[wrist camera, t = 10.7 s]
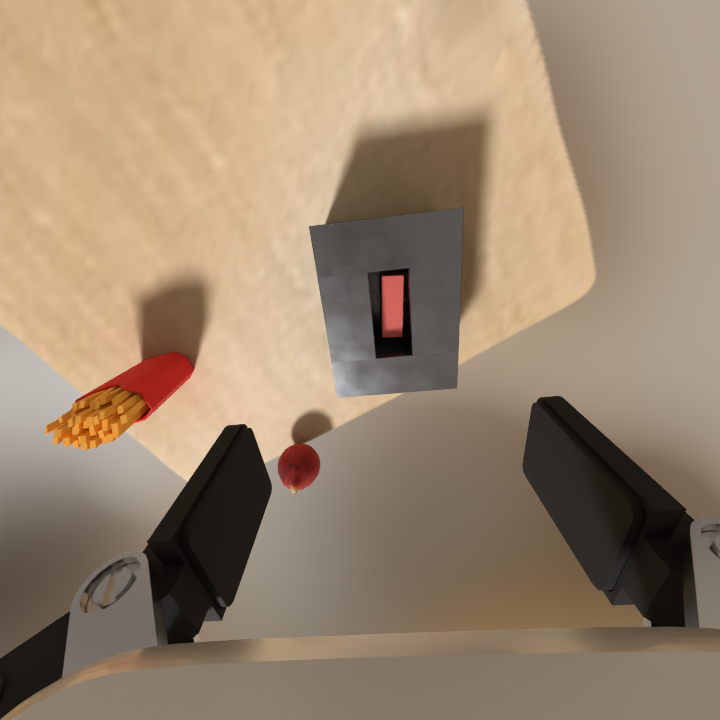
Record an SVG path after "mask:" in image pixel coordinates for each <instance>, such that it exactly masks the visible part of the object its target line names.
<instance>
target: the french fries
mask: <svg viewBox="0 0 720 720" xmlns="http://www.w3.org/2000/svg"><path fill="white" fill-rule="evenodd" d="M193 371H194V368H193V367H192V365H191V363H190V361H189V360H188V358H187V356H185V355H182V354H179V353H176V352H172V353H167V354H163V355H159V356H156V357H152V358H149V359H146V360H144V361H142V362H141V363H139V364H137V365H136V366H134V367H132V368H130V369H129V370H127V371H125V372H123V373H122V374H120V375H118V376H117V377H115V378H113V379H111V380H110V381H108V382H106V383H104V384H103V385H101V386H99V387H98V388H96V389H94V390H92V391H91V392H89V393H87V394H86V395H84V396H82V397H80V398H79V399H77V400H76V401H75V403H74V404H72V405H73V406H72V409H71V410H70V411H68V412H67V413H65V414H64V415H62V416H61V417H60V418H59V419H58V420H56V421H55V422H53V423H51V424H49V425H47V426H46V428H45V432H46V435H47V434H49V433H50V432H52V431H54V440H53V441H54V442H53V443H54V444H58V443H60V442H62V441H64V446H69V445H71V444H72V443H74V448H78V447H80V446H81V445H82V450H88V449H89V448H97V447H98V446H99V445H100V444H101V443H102V444H103V443H108V442H112V441H114V440H115V439H116V438H117V437H119V436H120V435H121V434H123V432H125V431H126V430H127V429H128V428H129V427H130V426H131V425H132V424H133V423H136V422H139V421H143V420H146V419H147V418H148V417H149V416H150V415H151V414H152V413H153V412H154V411H155V410H156V409H157V408H158V407H159V406H160V405H161V404H163V403H164V402H165V401H166V400H167V399H168V398H169V397H170V396H171V395H172V394H173V393H174V392H175V391H176V390H177V389H178V388H179V387H180V386H182V385H183V384H184V383H185V382H186V381H187V380H188V379H189V378H190V376H191V375H192V373H193ZM67 422H68V423H67Z"/></svg>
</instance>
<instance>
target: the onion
mask: <svg viewBox="0 0 720 720" xmlns="http://www.w3.org/2000/svg"><path fill="white" fill-rule="evenodd" d="M319 469H320V460H319V456H318V454H317V453H316V451H315V450H314V449H313V448H312V447H310V446H309V445H306V444H295V445H292V446H290V447H288V448H287V449H285V451H284V452H283V453H282V455H281V457H280V458H279V462H278V474H279V476H280V478H281V480H282V482H283V484H284V485H285V486H286V487H288V488H289V489H291V492H292V493H294V494H295V493H296V492H297V490H300V489H304V488H305V487H307V486H309V485H310V484H312V482H313V481H314V480H315V479H316V477H317V476H318V473H319Z"/></svg>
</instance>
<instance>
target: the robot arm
mask: <svg viewBox="0 0 720 720" xmlns="http://www.w3.org/2000/svg"><path fill="white" fill-rule="evenodd" d="M523 471H524V474H525V476H526V478H527V479H528V481H529V482H530V484H531V486H532V487H533V489H534V491H535V492H536V494H537V495H538V497H539V499H540V500H541V502H542V503H543V505H544V507H545V508H546V510H547V511H548V513H549V515H550V516H551V518H552V519H553V521H554V523H555V524H556V526H557V527H558V529H559V531H560V532H561V534H562V536H563V537H564V539H565V540H566V542H567V544H568V545H569V546H570V548H571V550H572V551H573V553H574V555H575V556H576V558H577V560H578V561H579V563H580V564H581V566H582V568H583V569H584V571H585V572H586V574H587V576H588V577H589V579H590V580H591V582H592V583H593V585H594V586H595V587H596V588H597V589H598V590H602V591H603V592H604V593H605V595H606V596H607V598H608V599H609V601H610V603H611V604H612V605H631V604H635V606H636V607H637V608H638V610H639V611H640V613H641V614H642V616H643V617H644V627H596V628H595V627H594V628H593V627H592V628H561V629H559V628H558V629H525V630H524V629H523V630H492V631H491V630H489V631H459V632H458V631H457V632H430V633H429V632H428V633H400V634H372V635H345V636H344V635H343V636H321V637H320V636H319V637H297V638H296V637H294V638H269V639H246V640H228V641H212V642H200V640H199V635H198V633H199V631H200V629H201V626H202V624H203V621H222V618H223V616H224V613H225V610H226V607H229V606H230V605H231V604H232V603H233V601H234V598H235V595H236V593H237V590H238V587H239V584H240V581H241V578H242V575H243V573H244V570H245V567H246V564H247V561H248V558H249V555H250V552H251V550H252V547H253V544H254V541H255V538H256V535H257V532H258V530H259V527H260V524H261V521H262V518H263V515H264V512H265V509H266V506H267V504H268V501H269V498H270V495H271V490H272V485H271V481H270V478H269V475H268V472H267V470H266V467H265V464H264V461H263V458H262V456H261V453H260V450H259V447H258V444H257V442H256V439H255V436H254V433H253V431H252V429H251V428H247V426H246V425H245V424H239V425H228V426H226V427H225V428H224V430H223V431H222V433H221V434H220V436H219V437H218V439H217V440H216V442H215V443H214V445H213V446H212V447H211V449H210V450H209V452H208V453H207V455H206V456H205V458H204V459H203V461H202V462H201V464H200V465H199V467H198V468H197V469H196V471H195V472H194V474H193V475H192V477H191V478H190V480H189V481H188V483H187V484H186V486H185V487H184V489H183V490H182V491H181V493H180V494H179V496H178V497H177V499H176V500H175V502H174V503H173V505H172V506H171V508H170V509H169V511H168V512H167V514H166V515H165V516H164V518H163V519H162V521H161V522H160V524H159V525H158V527H157V528H156V530H155V531H154V533H153V534H152V536H151V537H150V538H149V540H148V541H147V543H148V545H147V547H146V548H145V550H144V551H143V553H142V552H140V551H130V552H126V553H123V554H121V555H118V556H116V557H114V558H112V559H111V560H109V561H108V562H106V563H105V564H103V565H102V566H101V567H99V568H98V569H97V570H96V571H95V572H94V573H93V574H92V575H90V576H89V578H88V579H87V580H86V581H85V582H84V584H83V585H82V586H81V587H80V589H79V590H78V592H77V594H76V595H75V597H74V599H73V603H72V606H71V609H70V612H68V613H67V614H65V615H64V616H62V617H61V618H59V619H58V620H56V621H55V622H53V623H52V624H50V625H49V626H47V627H46V628H44V629H43V630H42V631H40V632H39V633H37V634H36V635H34V636H33V637H31V638H30V639H29V640H27V641H26V642H24V643H23V644H21V645H20V646H18V647H17V648H15V649H14V650H12V651H11V652H9V653H8V654H6V655H5V656H3V657H2V658H0V720H720V518H712V517H705V518H698V519H696V520H694V519H692V518H691V517H690V516H689V515H688V514H687V513H686V512H685V511H686V508H684V507H683V506H682V505H681V504H680V503H679V502H678V501H677V500H675V498H673V497H672V496H671V495H670V494H669V493H668V492H667V491H666V490H664V489H663V488H662V487H661V486H660V485H659V484H658V483H657V482H656V481H655V480H653V479H652V478H651V477H650V476H649V475H648V474H647V473H646V472H644V470H642V469H641V468H640V467H639V466H638V465H637V464H636V463H635V462H633V461H632V460H631V459H630V458H629V457H628V456H627V455H626V454H625V453H624V452H622V451H621V450H620V449H619V448H618V447H617V446H615V444H614V443H612V442H611V441H610V440H609V439H608V438H607V437H606V436H605V435H604V434H603V433H601V432H600V431H599V430H598V429H597V428H596V427H595V426H594V425H593V424H591V423H590V422H589V421H588V420H587V419H586V418H585V417H584V416H583V415H581V414H580V413H579V412H578V411H577V410H576V409H575V408H574V407H573V406H571V405H570V404H569V403H568V402H567V401H566V400H565V399H564V398H562V397H560V396H552V397H543V398H542V397H541V398H539V399H538V400H537V402H536V403H533V405H532V409H531V415H530V421H529V427H528V434H527V440H526V446H525V453H524V458H523Z"/></svg>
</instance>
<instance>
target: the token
mask: <svg viewBox="0 0 720 720" xmlns="http://www.w3.org/2000/svg"><path fill="white" fill-rule="evenodd" d="M403 284H404V275H403V274H402V272H401V271H400V269H396V270H387V271H380V323H381V331H382V337H402V326H403Z"/></svg>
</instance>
